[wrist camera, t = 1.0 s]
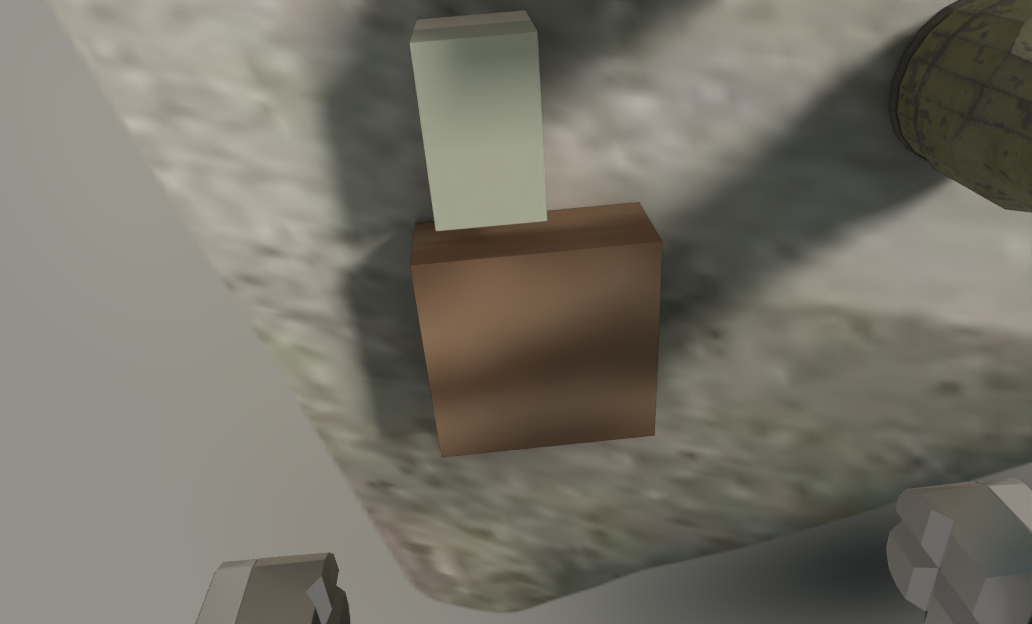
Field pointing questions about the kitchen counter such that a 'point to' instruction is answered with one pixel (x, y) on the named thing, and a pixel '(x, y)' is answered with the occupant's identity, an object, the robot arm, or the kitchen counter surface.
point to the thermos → (971, 98)
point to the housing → (481, 118)
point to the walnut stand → (541, 329)
